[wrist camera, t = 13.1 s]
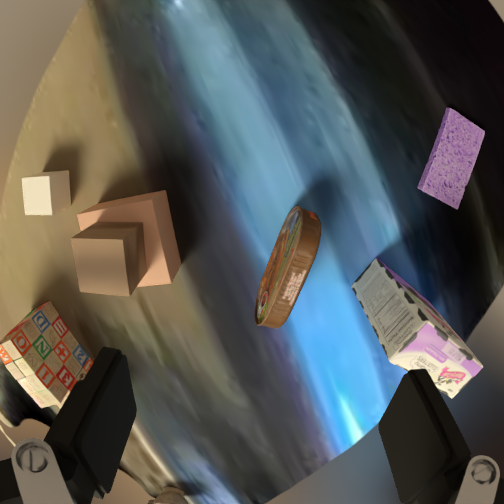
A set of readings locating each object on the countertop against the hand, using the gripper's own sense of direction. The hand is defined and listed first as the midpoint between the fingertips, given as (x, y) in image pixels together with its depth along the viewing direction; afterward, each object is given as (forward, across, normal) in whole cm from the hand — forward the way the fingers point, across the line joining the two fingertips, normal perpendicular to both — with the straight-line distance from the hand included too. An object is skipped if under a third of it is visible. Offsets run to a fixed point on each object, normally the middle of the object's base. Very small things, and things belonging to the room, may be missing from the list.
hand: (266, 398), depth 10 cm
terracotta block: (+31, +15, +6) cm, 35 cm away
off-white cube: (+31, +28, +1) cm, 42 cm away
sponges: (+32, -26, -9) cm, 42 cm away
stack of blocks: (+31, +30, +30) cm, 52 cm away
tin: (+31, -4, +8) cm, 33 cm away
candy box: (+31, -21, +12) cm, 40 cm away
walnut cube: (+25, +15, +6) cm, 30 cm away
